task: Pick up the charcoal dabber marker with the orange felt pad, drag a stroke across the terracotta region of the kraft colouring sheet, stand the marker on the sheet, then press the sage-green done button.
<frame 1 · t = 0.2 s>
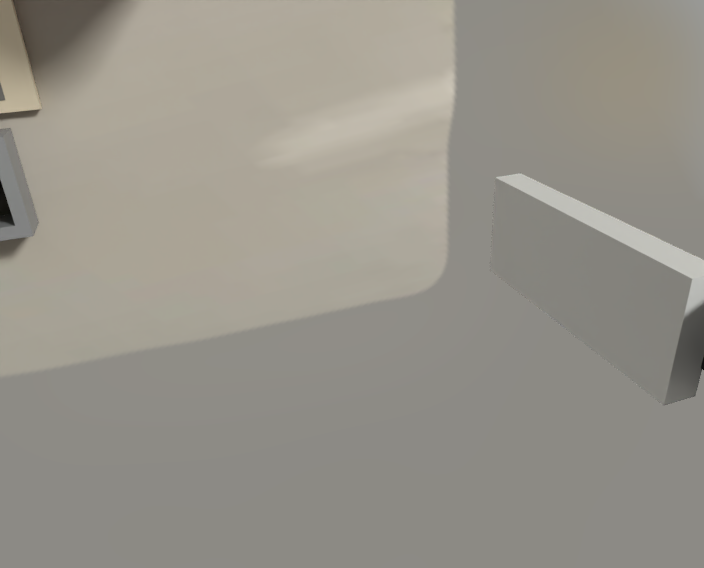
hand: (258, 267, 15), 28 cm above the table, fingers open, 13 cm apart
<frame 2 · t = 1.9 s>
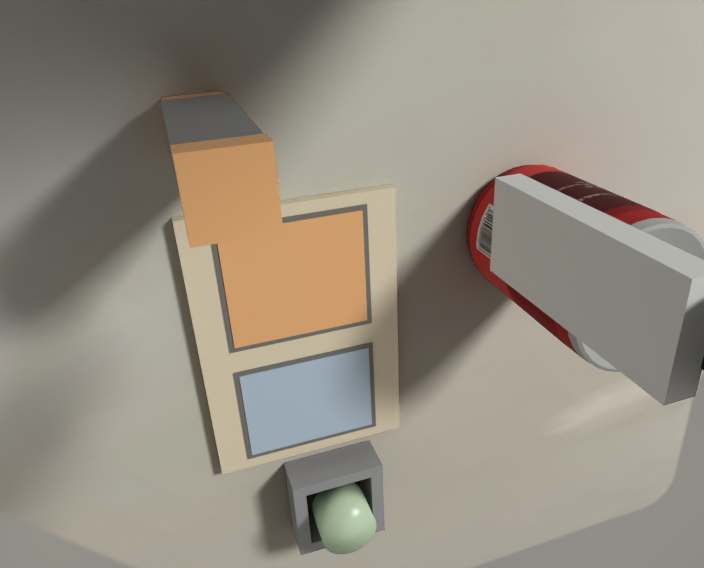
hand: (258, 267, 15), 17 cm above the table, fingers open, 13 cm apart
sheet: (300, 335, 36), on the table
done button: (343, 517, 40), point 3 cm above the table, slide at 0.0 cm
canned food: (515, 222, 38), on the table
marker: (196, 123, 29), on the table
button collar: (330, 484, 42), on the table
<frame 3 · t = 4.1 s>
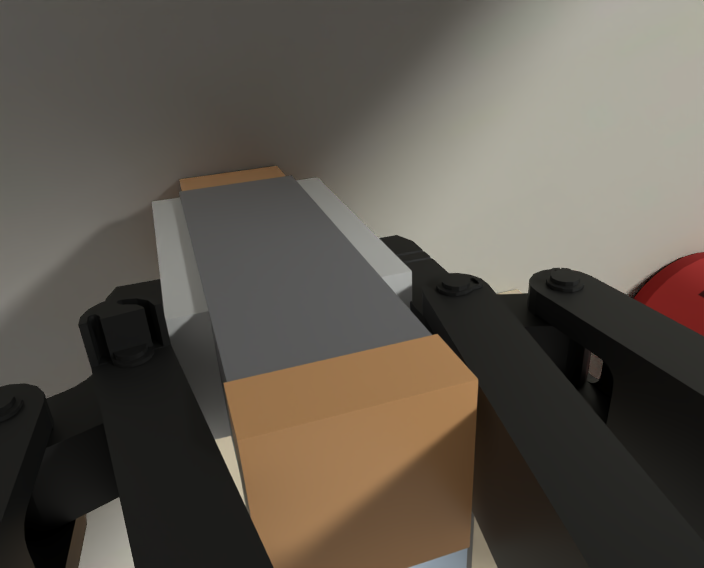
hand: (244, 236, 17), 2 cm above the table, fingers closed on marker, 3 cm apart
sheet: (375, 499, 25), on the table
canned food: (674, 327, 27), on the table
marker: (235, 218, 18), on the table, touching gripper
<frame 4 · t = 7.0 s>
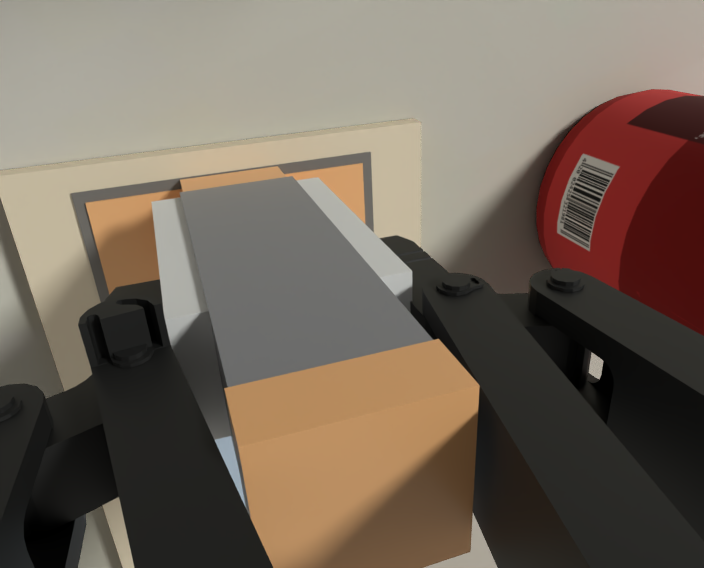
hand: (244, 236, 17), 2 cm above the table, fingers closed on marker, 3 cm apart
sheet: (259, 380, 22), on the table
canned food: (612, 192, 23), on the table
marker: (236, 218, 18), point 1 cm above the table, touching gripper, sheet
when the fingers open (3 cm above the table, at t = 10.0 s): marker drops 1 cm, resting on sheet.
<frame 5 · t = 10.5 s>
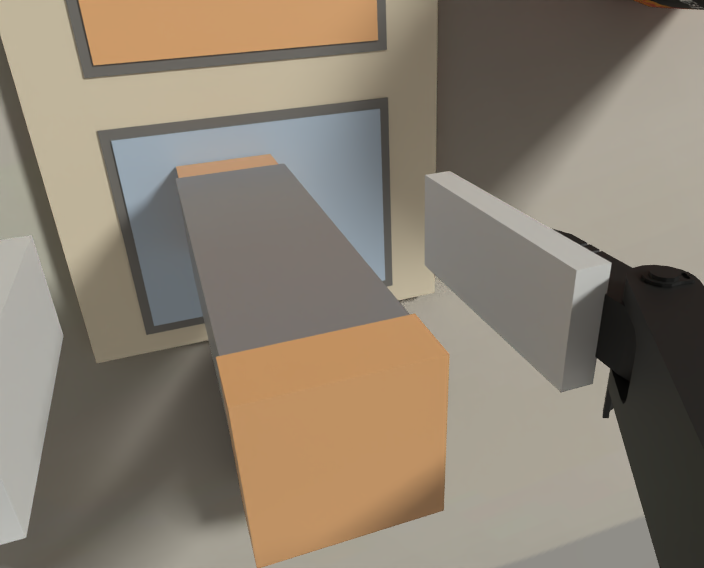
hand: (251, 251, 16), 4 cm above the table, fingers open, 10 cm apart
sheet: (242, 67, 18), on the table
marker: (230, 204, 19), point 1 cm above the table, touching sheet
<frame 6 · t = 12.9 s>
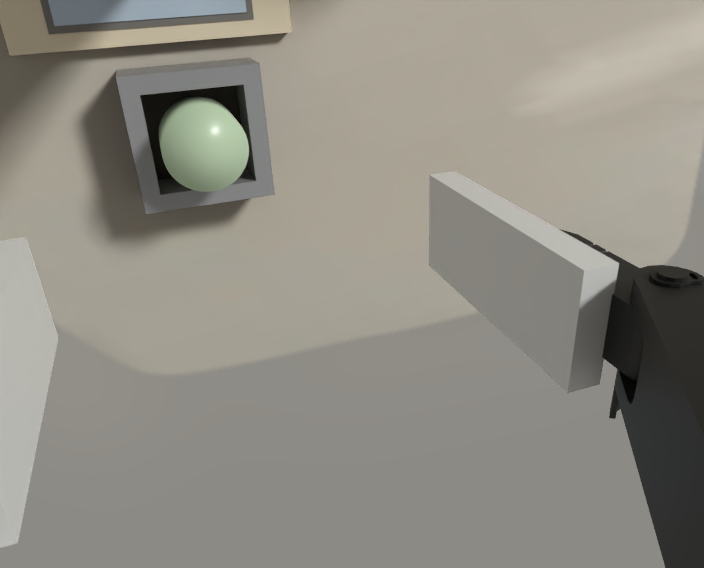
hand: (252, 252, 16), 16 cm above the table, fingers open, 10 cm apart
done button: (202, 143, 27), point 3 cm above the table, slide at 0.0 cm
button collar: (196, 129, 29), on the table
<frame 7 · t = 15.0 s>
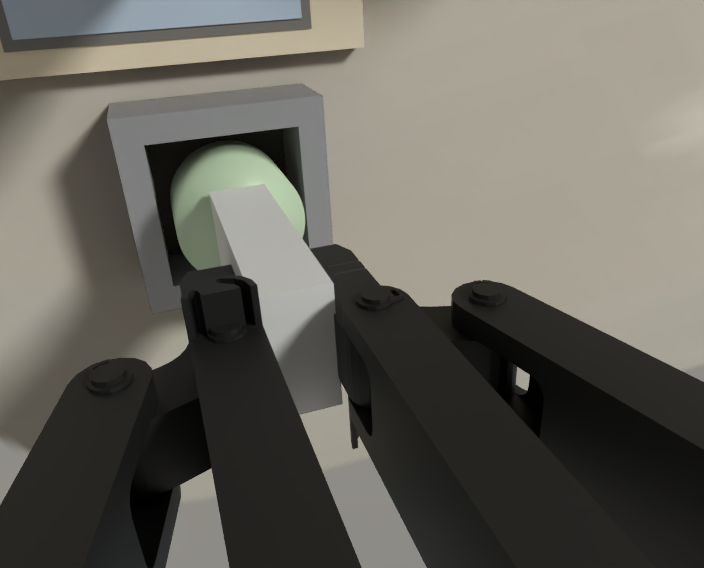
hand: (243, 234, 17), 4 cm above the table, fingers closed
done button: (235, 210, 18), point 3 cm above the table, slide at 0.3 cm, touching gripper
button collar: (223, 184, 20), on the table
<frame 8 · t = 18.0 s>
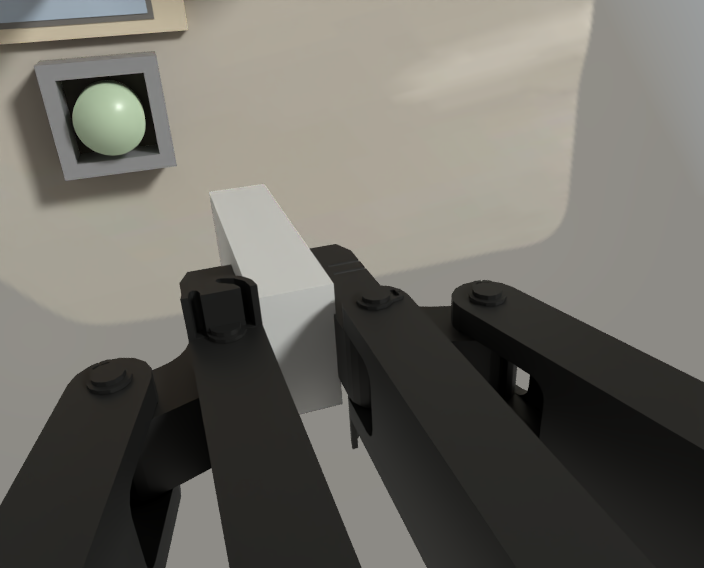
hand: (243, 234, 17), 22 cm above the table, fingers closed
done button: (110, 117, 33), point 2 cm above the table, slide at 1.2 cm
button collar: (111, 111, 35), on the table
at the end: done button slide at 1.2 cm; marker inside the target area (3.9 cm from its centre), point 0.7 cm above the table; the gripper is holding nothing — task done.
